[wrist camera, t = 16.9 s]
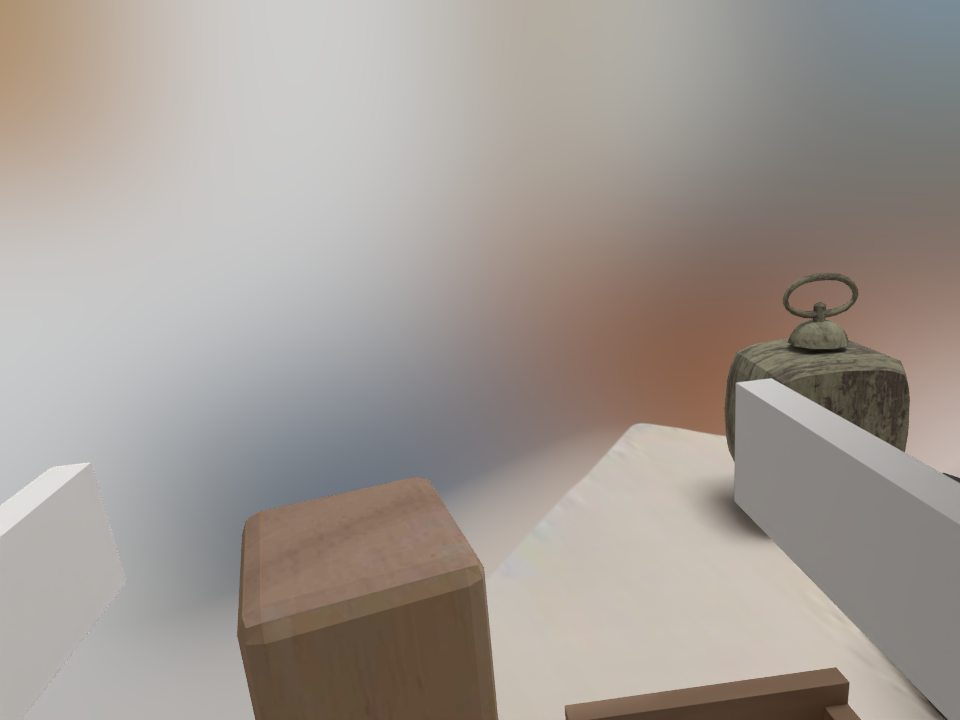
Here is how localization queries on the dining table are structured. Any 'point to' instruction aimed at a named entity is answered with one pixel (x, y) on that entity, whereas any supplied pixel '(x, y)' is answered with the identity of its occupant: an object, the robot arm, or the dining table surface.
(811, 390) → the tabletop clock
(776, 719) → the brown wooden tray
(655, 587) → the dining table surface
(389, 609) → the wooden block
